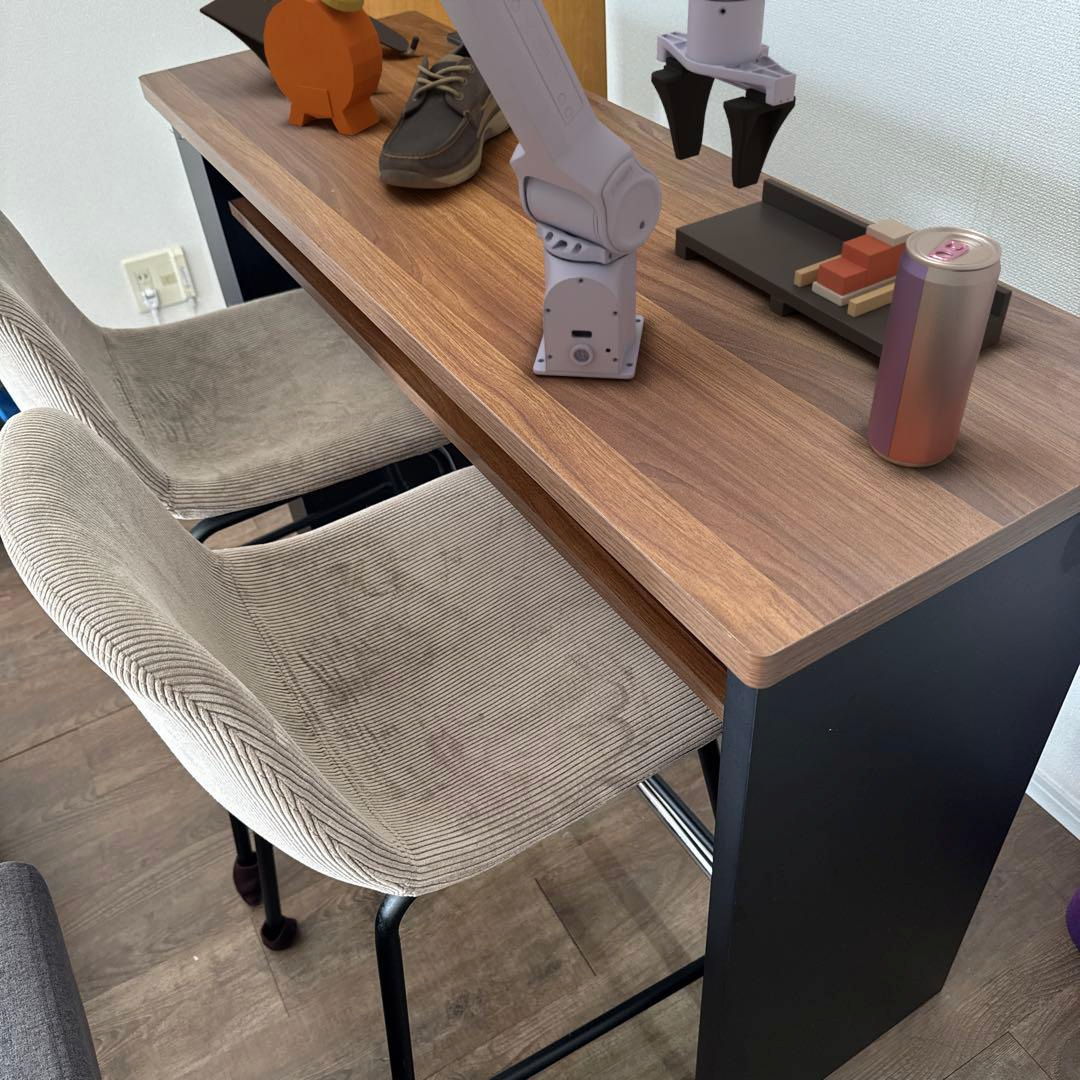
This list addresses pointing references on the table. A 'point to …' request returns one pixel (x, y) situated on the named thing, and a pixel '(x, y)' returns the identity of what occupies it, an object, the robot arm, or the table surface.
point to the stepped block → (864, 263)
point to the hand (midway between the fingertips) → (715, 170)
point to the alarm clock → (325, 61)
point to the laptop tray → (246, 17)
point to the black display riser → (802, 261)
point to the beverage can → (932, 343)
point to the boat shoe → (442, 126)
